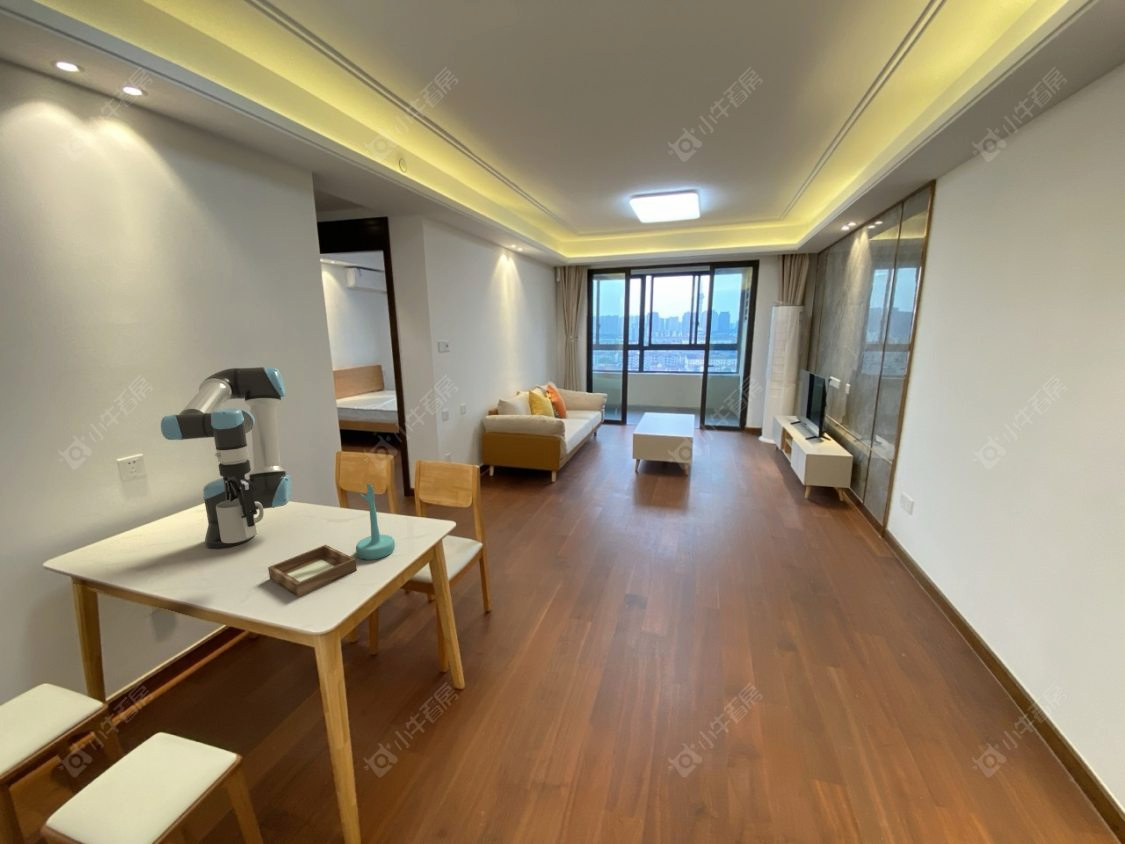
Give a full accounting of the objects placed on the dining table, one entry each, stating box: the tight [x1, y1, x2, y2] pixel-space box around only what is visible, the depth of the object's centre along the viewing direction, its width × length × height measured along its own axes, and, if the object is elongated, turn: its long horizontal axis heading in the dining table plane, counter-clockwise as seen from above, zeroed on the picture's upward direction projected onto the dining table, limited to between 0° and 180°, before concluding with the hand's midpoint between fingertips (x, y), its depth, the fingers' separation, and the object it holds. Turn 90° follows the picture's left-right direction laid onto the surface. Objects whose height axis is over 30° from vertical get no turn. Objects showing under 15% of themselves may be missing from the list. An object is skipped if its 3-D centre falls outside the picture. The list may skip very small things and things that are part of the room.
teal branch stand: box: [355, 483, 396, 561], centre depth 154 cm, size 13×12×25 cm
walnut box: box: [267, 544, 358, 598], centre depth 141 cm, size 18×18×4 cm
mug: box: [216, 498, 265, 543], centre depth 136 cm, size 12×8×11 cm
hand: (244, 532), depth 137 cm, fingers closed on mug, 8 cm apart
